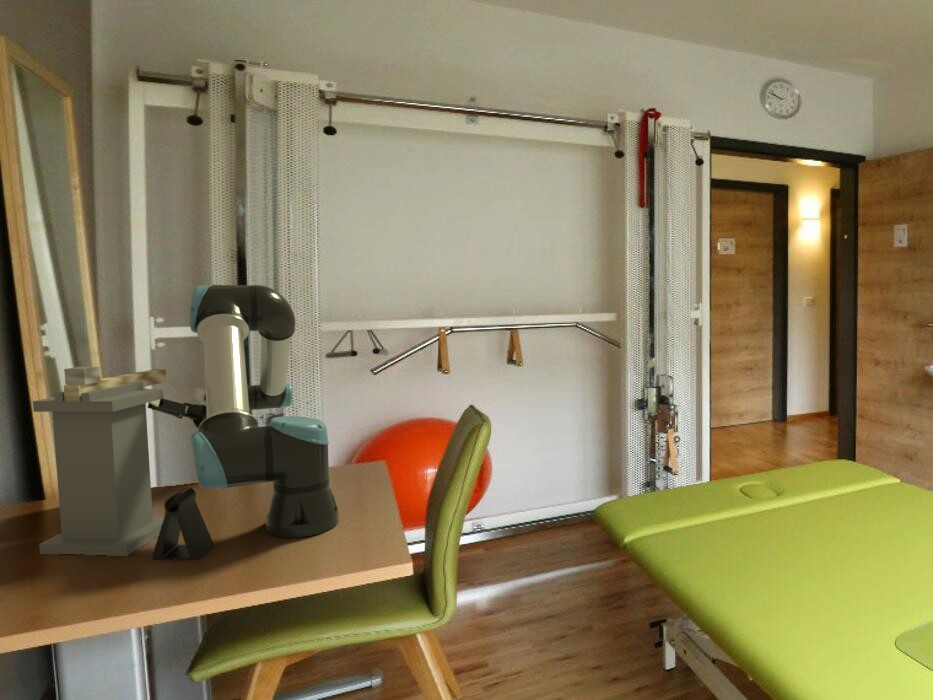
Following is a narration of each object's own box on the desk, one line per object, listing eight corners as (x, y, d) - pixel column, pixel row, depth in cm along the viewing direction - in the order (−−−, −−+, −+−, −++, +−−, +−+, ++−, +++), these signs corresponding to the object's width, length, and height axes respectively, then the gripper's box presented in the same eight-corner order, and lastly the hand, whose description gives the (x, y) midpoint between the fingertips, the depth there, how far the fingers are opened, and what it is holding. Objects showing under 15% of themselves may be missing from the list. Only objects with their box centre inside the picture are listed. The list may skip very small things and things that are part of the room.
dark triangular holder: (214, 546, 109) (210, 487, 108) (199, 559, 103) (195, 497, 102) (168, 546, 109) (165, 487, 108) (151, 560, 103) (147, 498, 102)
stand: (98, 523, 121) (88, 382, 119) (175, 525, 120) (167, 382, 117) (40, 554, 106) (27, 393, 104) (127, 556, 105) (116, 393, 102)
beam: (152, 382, 129) (150, 356, 129) (168, 382, 129) (167, 356, 128) (62, 401, 103) (59, 369, 103) (82, 401, 103) (79, 369, 103)
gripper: (253, 433, 149) (214, 406, 130) (166, 432, 151) (115, 406, 132) (258, 407, 152) (221, 377, 133) (173, 407, 154) (125, 378, 135)
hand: (169, 392), depth 133 cm, fingers open, 13 cm apart
